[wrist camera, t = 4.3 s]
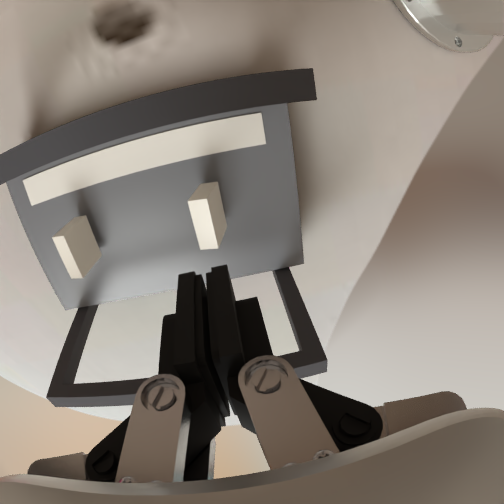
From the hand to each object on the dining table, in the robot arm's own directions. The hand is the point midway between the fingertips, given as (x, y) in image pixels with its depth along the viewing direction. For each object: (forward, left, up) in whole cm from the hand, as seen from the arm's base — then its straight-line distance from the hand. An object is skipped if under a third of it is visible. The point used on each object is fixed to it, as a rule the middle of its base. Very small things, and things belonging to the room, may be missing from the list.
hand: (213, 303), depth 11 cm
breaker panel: (+3, -2, -12) cm, 12 cm away
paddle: (+7, -4, -8) cm, 11 cm away
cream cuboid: (0, 0, -8) cm, 8 cm away
